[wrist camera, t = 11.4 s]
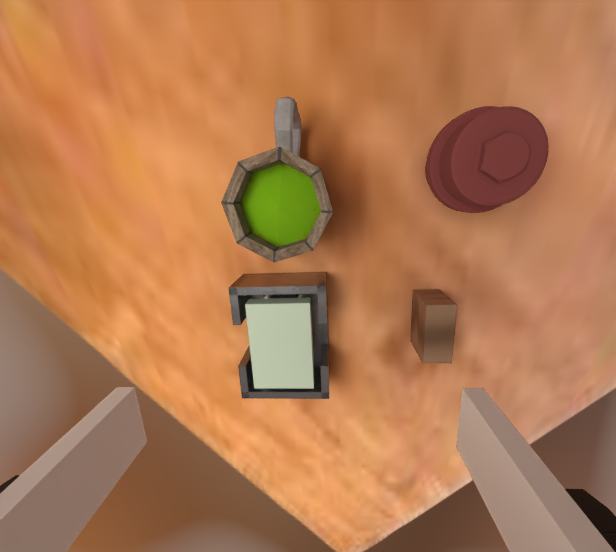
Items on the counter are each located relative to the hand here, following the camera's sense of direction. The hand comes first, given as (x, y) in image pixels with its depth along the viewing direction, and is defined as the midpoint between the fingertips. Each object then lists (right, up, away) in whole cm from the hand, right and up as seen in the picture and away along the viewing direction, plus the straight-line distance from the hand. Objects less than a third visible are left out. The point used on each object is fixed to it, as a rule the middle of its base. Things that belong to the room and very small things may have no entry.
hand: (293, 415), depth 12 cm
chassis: (-3, -2, +33) cm, 33 cm away
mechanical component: (+18, +19, +26) cm, 37 cm away
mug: (-1, +18, +27) cm, 33 cm away
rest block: (+17, 0, +31) cm, 35 cm away
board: (-3, -3, +28) cm, 28 cm away
